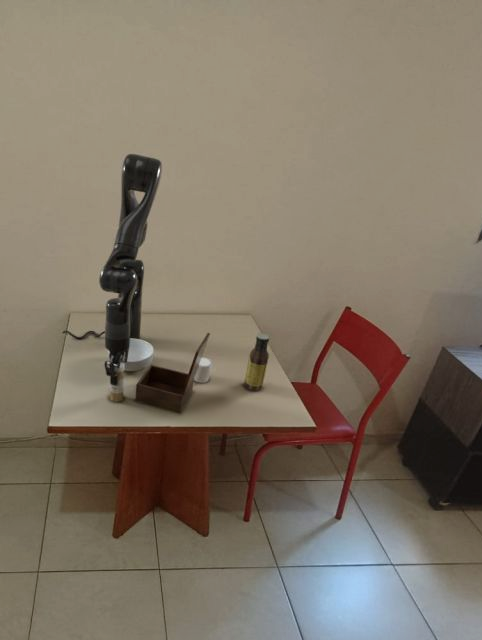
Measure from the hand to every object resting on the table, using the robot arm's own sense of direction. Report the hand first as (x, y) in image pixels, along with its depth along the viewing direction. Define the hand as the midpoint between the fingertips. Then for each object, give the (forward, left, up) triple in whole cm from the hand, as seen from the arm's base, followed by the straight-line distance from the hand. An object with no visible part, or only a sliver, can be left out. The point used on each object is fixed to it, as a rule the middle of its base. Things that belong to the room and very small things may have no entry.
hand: (116, 380), depth 143 cm
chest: (+14, +8, -7) cm, 18 cm away
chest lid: (+23, +8, +8) cm, 25 cm away
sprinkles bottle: (0, 0, -7) cm, 7 cm away
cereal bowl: (-4, +21, -7) cm, 23 cm away
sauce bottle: (+40, +27, -7) cm, 49 cm away
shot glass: (+22, +24, -7) cm, 33 cm away
